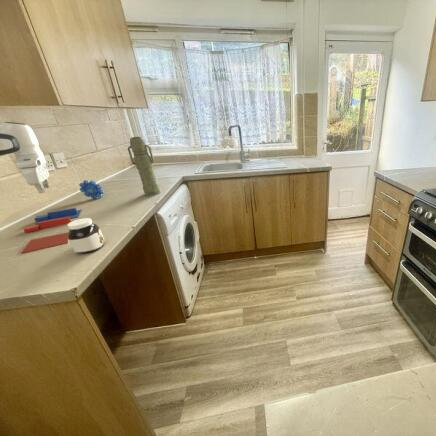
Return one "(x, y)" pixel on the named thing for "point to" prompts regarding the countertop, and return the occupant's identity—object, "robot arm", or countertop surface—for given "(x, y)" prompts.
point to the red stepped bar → (47, 224)
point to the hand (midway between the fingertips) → (44, 190)
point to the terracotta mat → (46, 242)
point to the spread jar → (85, 236)
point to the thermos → (144, 165)
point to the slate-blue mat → (64, 217)
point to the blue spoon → (57, 214)
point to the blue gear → (91, 189)
